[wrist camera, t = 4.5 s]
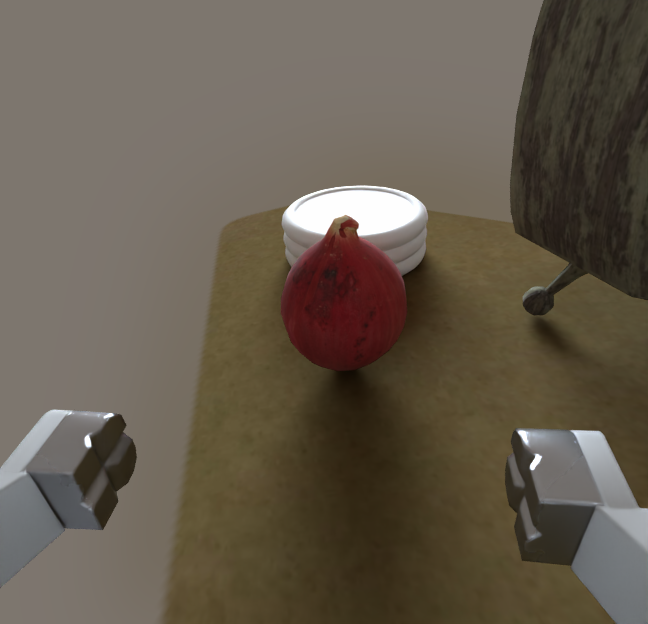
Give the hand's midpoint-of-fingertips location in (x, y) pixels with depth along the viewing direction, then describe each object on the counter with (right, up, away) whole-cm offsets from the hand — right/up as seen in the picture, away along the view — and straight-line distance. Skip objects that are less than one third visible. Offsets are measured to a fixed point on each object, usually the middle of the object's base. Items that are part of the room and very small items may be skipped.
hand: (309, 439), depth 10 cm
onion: (+1, 0, +14) cm, 15 cm away
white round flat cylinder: (+3, +7, +25) cm, 26 cm away
